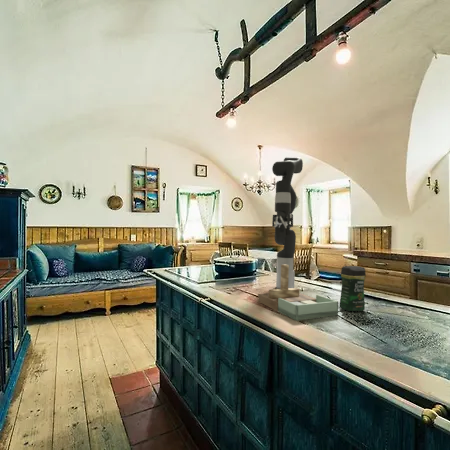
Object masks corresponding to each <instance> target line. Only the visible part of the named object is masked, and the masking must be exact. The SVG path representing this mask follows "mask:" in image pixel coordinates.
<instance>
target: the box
mask: <svg viewBox="0 0 450 450" xmlns="http://www.w3.org/2000/svg"><path fill="white" fill-rule="evenodd" d="M315 299H316V302H317V303H311V304H301V305H296V304H294V303H291V302H289V301H286V300H284V299H282V298H278V311H277V312H278V313H280V314H282V315H283V316H287V317H288V318H290V319H292V320H294V321H304V320H312V319H319V318H320V317H321V318H327V317H328V316H329V317H336V316H335V315H337V316H339V301H338V300H336V299H332V298H329V297H326V296H323V295H320V294H316V295H315Z"/></svg>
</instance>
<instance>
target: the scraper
mask: <svg viewBox="0 0 450 450" xmlns="http://www.w3.org/2000/svg"><path fill="white" fill-rule="evenodd" d="M288 277H289V265H286V264H282V265H281V288H276V289H275V288H274V289H268V293H269V297H271V298H279V297H291V296H299V293H300V288H297V287H294V288H288Z"/></svg>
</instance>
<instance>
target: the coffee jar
mask: <svg viewBox="0 0 450 450" xmlns="http://www.w3.org/2000/svg"><path fill="white" fill-rule="evenodd" d="M340 276H341V277H340V278H341V288H340V289H341V291H340V298H339V299H340V300H339V308H340V309H341V310H342V311H345V310H346V311H347V312H350V311H352V312H353V311H358V312H364V311H365V309H366V308H365V307H366V303H365V301H366V300H365V280H366V276H367V275H366V268H365V267H362V266H358V265H348V266H347V265H346V266H345V265H344V266H342V268H341V271H340ZM363 310H364V311H363Z"/></svg>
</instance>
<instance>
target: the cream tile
mask: <svg viewBox="0 0 450 450" xmlns="http://www.w3.org/2000/svg"><path fill="white" fill-rule="evenodd" d="M301 303H302V304H311V303H317V302H314V301H311V300H306V301H301Z"/></svg>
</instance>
